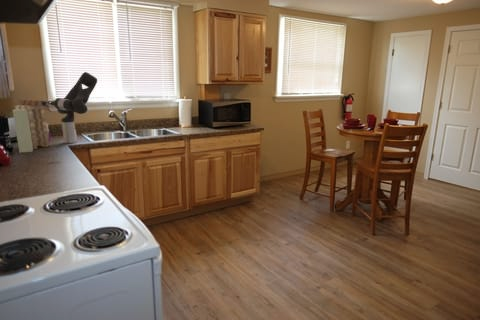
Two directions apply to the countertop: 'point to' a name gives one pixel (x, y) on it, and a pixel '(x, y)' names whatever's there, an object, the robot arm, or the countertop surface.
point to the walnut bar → (31, 102)
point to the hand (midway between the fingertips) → (47, 102)
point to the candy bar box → (48, 131)
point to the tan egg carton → (36, 125)
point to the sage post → (23, 130)
